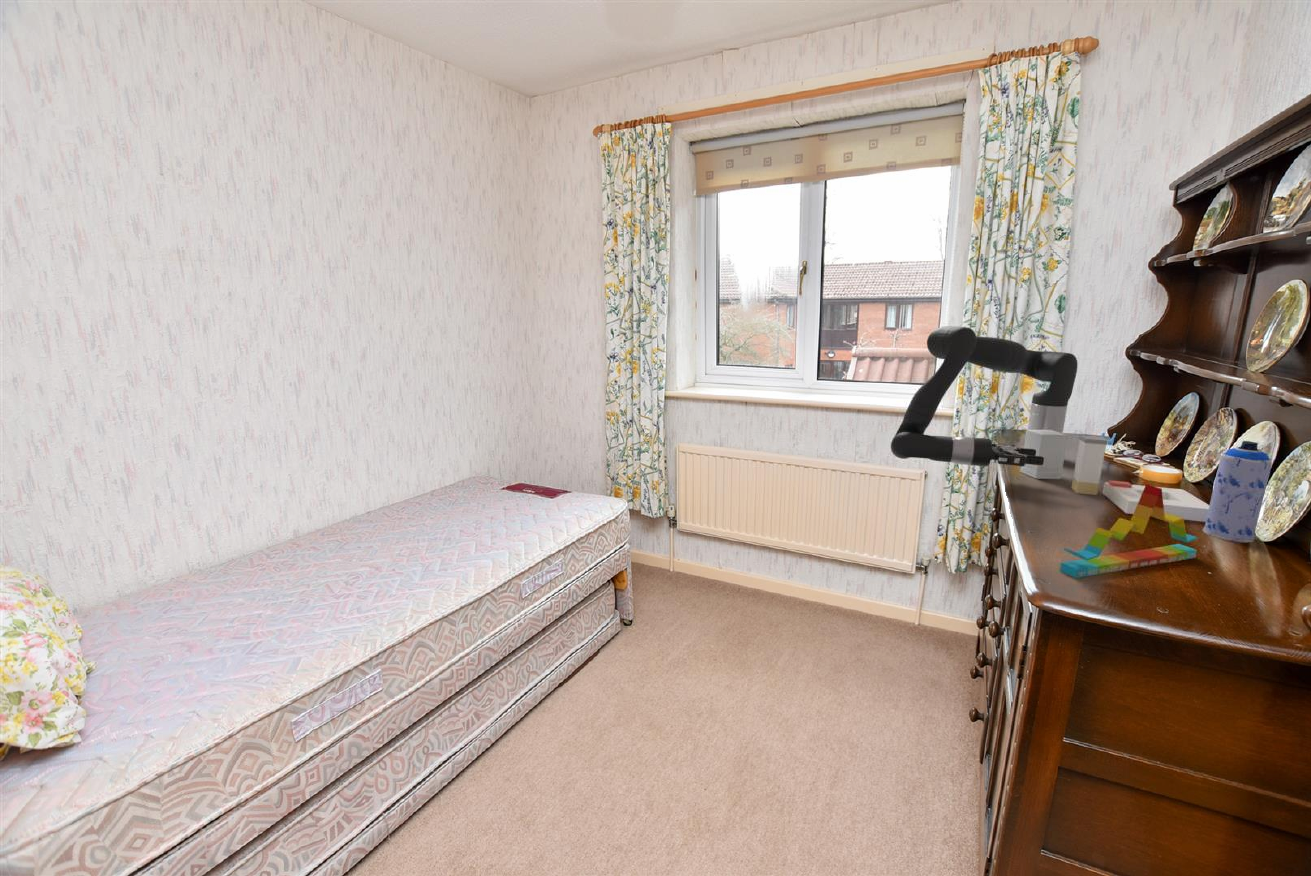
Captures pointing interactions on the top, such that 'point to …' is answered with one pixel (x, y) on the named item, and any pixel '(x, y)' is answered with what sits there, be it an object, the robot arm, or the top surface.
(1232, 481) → the aerosol can
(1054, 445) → the supplement box
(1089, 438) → the tall white box
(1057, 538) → the top surface
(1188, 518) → the socket
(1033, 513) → the top surface
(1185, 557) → the chart
